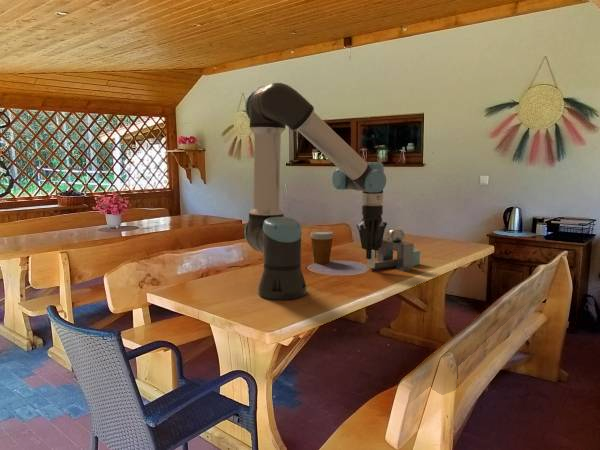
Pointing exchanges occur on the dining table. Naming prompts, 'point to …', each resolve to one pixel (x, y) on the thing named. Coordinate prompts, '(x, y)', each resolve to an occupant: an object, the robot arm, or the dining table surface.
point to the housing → (400, 246)
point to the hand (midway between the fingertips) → (371, 267)
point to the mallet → (394, 262)
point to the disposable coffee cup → (321, 245)
